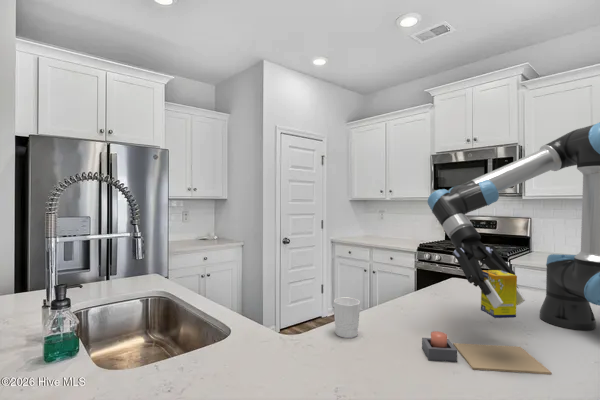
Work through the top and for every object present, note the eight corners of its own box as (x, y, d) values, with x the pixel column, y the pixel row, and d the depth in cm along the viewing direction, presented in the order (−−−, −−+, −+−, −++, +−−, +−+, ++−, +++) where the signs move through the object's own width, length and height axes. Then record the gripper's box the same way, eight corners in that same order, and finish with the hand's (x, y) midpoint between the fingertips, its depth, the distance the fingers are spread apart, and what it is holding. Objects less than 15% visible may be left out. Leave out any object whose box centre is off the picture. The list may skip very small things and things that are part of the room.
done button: (444, 344, 93) (444, 331, 93) (449, 351, 89) (449, 337, 89) (429, 343, 94) (429, 331, 94) (433, 350, 90) (433, 337, 90)
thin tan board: (520, 348, 96) (520, 346, 96) (551, 374, 82) (551, 372, 82) (453, 344, 98) (453, 343, 98) (472, 369, 84) (472, 367, 84)
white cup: (359, 340, 100) (359, 306, 100) (332, 337, 102) (332, 304, 102) (359, 329, 108) (360, 298, 108) (334, 327, 110) (335, 296, 109)
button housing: (448, 349, 95) (448, 338, 95) (457, 362, 88) (457, 350, 88) (421, 348, 95) (422, 337, 95) (428, 360, 88) (428, 348, 88)
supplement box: (480, 310, 93) (480, 270, 93) (501, 310, 93) (501, 269, 93) (494, 318, 87) (495, 275, 87) (516, 317, 87) (517, 274, 87)
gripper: (480, 239, 108) (528, 307, 92) (427, 241, 101) (470, 315, 86) (495, 223, 102) (549, 293, 87) (440, 225, 96) (489, 300, 81)
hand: (510, 303), depth 87 cm, fingers closed on supplement box, 7 cm apart
